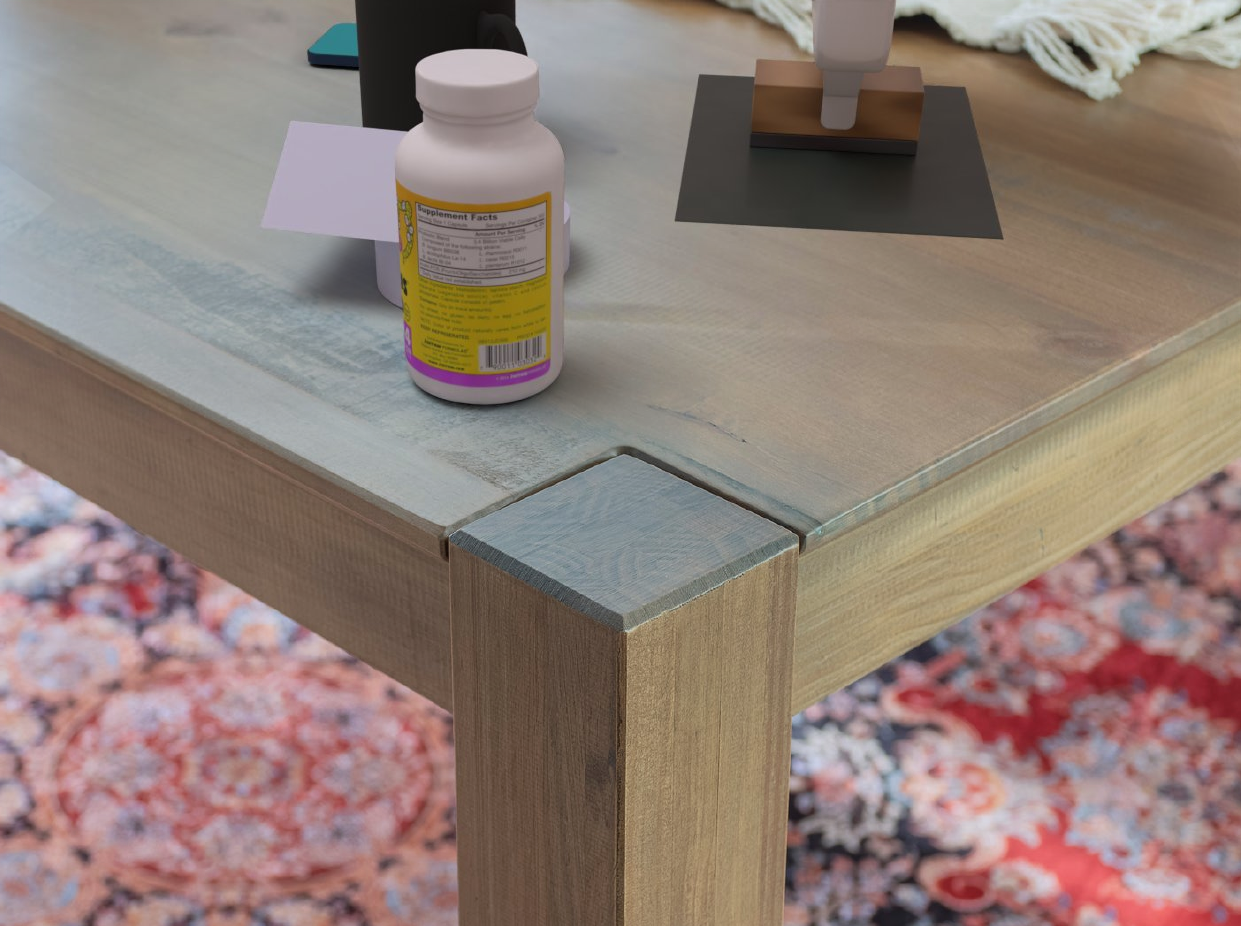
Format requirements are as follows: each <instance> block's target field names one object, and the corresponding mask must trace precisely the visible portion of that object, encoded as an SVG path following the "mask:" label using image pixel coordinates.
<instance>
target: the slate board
mask: <svg viewBox="0 0 1241 926" xmlns="http://www.w3.org/2000/svg"><path fill="white" fill-rule="evenodd" d="M697 79H698V80H697V83H696V84H697V85H696V91H695V97H694V103H693V110H692V115H691V121H690V127H689V133H688V140H687V143H686V144H687V145H686V149H685V157H684V163H683V168H682V175H681V180H680V186H679V192H678V199H677V204H676V211H675V217H674V222H678V223H679V222H680V223H696V224H715V225H730V226H731V225H732V226H733V225H734V226H751V227H766V228H767V227H769V228H785V229H786V228H788V229H803V230H805V229H806V230H821V231H823V230H824V231H839V232H840V231H841V232H859V233H876V234H879V233H880V234H893V235H895V234H896V235H912V236H913V235H914V236H930V237H931V236H934V237H949V238H951V237H952V238H966V239H967V238H968V239H988V240H1004V236H1003V231H1002V227H1001V223H1000V219H999V216H998V212H997V207H996V204H995V200H994V196H993V191H992V188H991V183H990V180H989V176H988V172H987V167H986V163H985V160H984V155H983V152H982V147H981V143H980V140H979V136H978V132H977V127H976V124H975V120H974V116H973V112H972V111H973V110H972V107H971V104H970V100H969V96H968V93H967V91H968V90H967V88H966V86H952V85H933V84H923V87H924V93H925V94H924V102H923V109H922V116H921V124H920V131H919V139H918V146H917V153H916V155H898V154H879V153H860V152H841V151H823V150H804V149H785V148H766V147H751V146H750V132H751V118H752V105H753V92H754V80H755V76H746V75H727V74H725V75H724V74H705V73H703V74H702V73H699V75H698V78H697Z"/></svg>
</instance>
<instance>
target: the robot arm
mask: <svg viewBox="0 0 1241 926" xmlns="http://www.w3.org/2000/svg"><path fill="white" fill-rule="evenodd" d="M896 6H897V0H811V18H812V46H813V48H812V49H813V62H815V65H816V66H817V67H818V68H819V69H821V70H824V81H823V96H822V106H821V123H822V126H824V127H825V128H826V129H838V130H848V129H850V128H852V127H853V125H854V123H855V118H856V109H857V101H858V95H859V92H860V88H861V84H862V80H863V76H864V73H877V72H881V71H882V70H883V69H884V68H885V67H886V65H888V60H889V57H890V54H891V48H892V41H893V33H894V24H895V23H894V22H895V15H896Z"/></svg>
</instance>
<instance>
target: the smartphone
mask: <svg viewBox="0 0 1241 926" xmlns="http://www.w3.org/2000/svg"><path fill="white" fill-rule="evenodd" d="M306 53H307V62H308V63H310V64H313V65H320V66H321V65H322V66H323V65H324V66H337V67H339V66H340V67H355V68H359V60H358V43H357V26H356V22H341V23H336V24H334V25H332V26H331V27H330V28H329V29H328V30H327V31H326V32H325V33H323V35H321V37H319V39H317V40H316V42H314V43H313V44H312V45H311V46H310V47H309V48H308V49H307V50H306Z"/></svg>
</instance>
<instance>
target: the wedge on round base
mask: <svg viewBox="0 0 1241 926" xmlns="http://www.w3.org/2000/svg"><path fill="white" fill-rule="evenodd" d="M407 133H408V132H405V131H395V130H384V129H374V128H363V126H351V125H342V124H331V123H321V122H312V121H311V122H310V121H299V120H290V123H289V125H288V129H287V134H286V136H285V140H284V144H283V147H282V149H281V154H280V157H279V161H278V164H277V168H276V171H275V175H274V177H273V182H272V185H271V188H270V192H269V196H268V199H267V202H266V205H265V210H264V213H263V216H262V220H261V222H260V226H259V227H260V228H262V229H269V230H280V231H288V232H297V233H306V234H307V233H308V234H316V235H326V236H334V237H343V238H351V239H352V238H353V239H361V240H372V241H374V251H375V252H374V253H375V267H376V268H375V269H376V270H375V271H376V283H377V288H378V290H379V292H380V294H381V295H382V296H383V297H384V298H385V299H386V300H387V301H389V302H390V303H391V304H393V305H395V306H397V307H399V308H401V309H402V291H401V271H400V253H399V233H398V216H397V198H396V182H395V155H396V151H397V148H398V146H399V144H400V142H401V140H402V138H403V137H404V136H405V135H406V134H407ZM570 259H571V207H570V205H569V204H568V202H567V201H566V200H565V199H564V275H566V273H567V271H568V270H569V267H570V262H571V261H570Z"/></svg>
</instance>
